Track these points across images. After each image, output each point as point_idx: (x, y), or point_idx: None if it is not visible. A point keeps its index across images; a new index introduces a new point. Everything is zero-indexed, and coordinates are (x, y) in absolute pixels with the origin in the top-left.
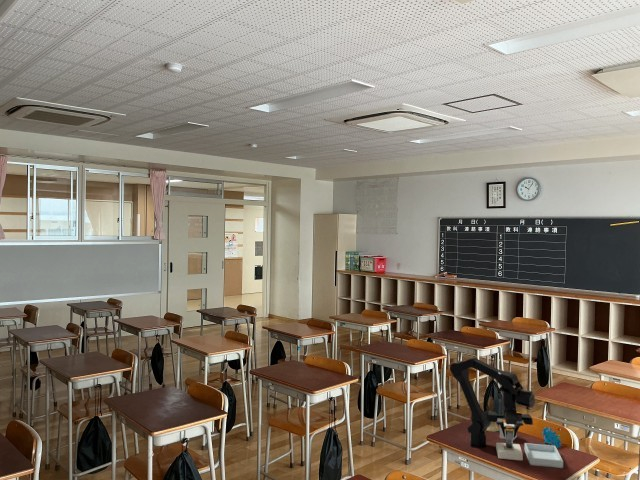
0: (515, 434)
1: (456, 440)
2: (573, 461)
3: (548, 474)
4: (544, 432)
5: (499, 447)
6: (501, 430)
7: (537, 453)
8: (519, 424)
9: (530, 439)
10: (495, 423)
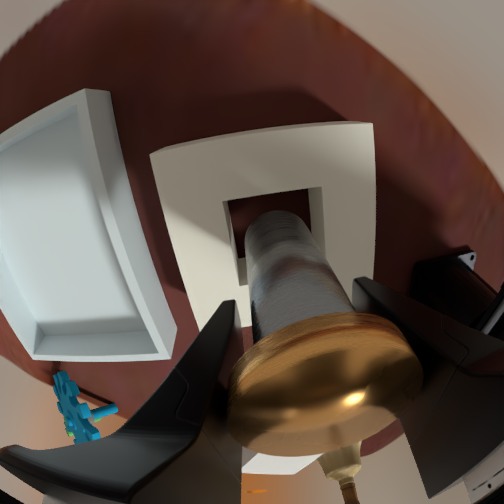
0: (212, 327)
1: (497, 291)
2: None
3: (25, 31)
4: (90, 439)
5: (360, 215)
6: None
7: (91, 288)
8: (55, 488)
9: None
10: (325, 460)
